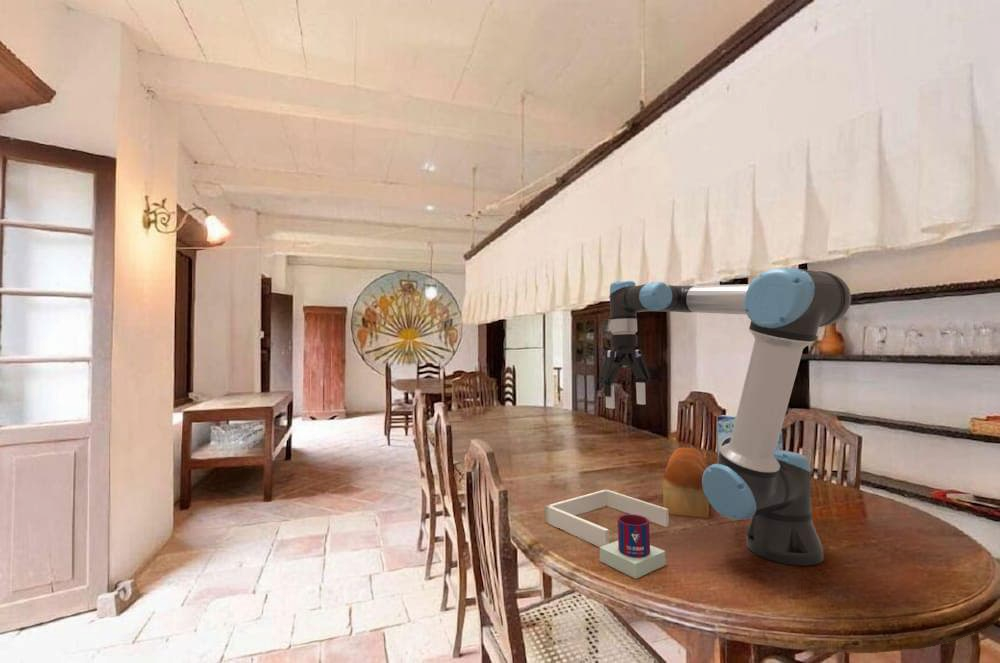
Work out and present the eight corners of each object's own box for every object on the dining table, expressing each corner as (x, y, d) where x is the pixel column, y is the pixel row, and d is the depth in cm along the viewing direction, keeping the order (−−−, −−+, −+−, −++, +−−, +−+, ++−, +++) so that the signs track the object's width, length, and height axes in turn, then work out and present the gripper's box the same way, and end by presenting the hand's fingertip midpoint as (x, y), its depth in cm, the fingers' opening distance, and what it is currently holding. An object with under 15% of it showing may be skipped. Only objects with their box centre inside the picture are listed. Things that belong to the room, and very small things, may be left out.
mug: (619, 556, 98) (618, 524, 98) (616, 537, 107) (615, 508, 108) (652, 558, 96) (651, 526, 97) (646, 539, 106) (645, 509, 106)
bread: (710, 519, 126) (708, 465, 127) (662, 513, 131) (660, 461, 132) (710, 493, 149) (708, 447, 149) (669, 489, 154) (667, 445, 154)
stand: (665, 565, 100) (665, 551, 100) (635, 578, 94) (635, 564, 94) (629, 549, 108) (628, 536, 108) (599, 561, 102) (599, 547, 102)
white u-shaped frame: (668, 525, 121) (668, 508, 122) (605, 550, 108) (605, 530, 108) (606, 504, 140) (606, 489, 140) (545, 522, 126) (545, 505, 126)
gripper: (640, 334, 144) (643, 401, 144) (584, 334, 130) (586, 408, 129) (661, 333, 138) (663, 403, 137) (604, 333, 124) (606, 411, 123)
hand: (626, 406), depth 133 cm, fingers open, 13 cm apart
